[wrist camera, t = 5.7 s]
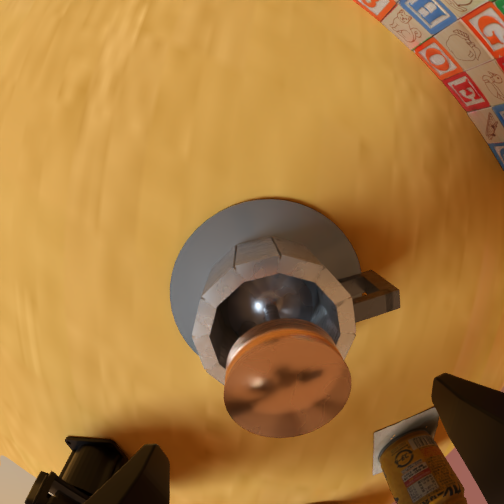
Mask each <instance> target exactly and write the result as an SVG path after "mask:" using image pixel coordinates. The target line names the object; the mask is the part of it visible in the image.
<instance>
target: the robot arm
mask: <svg viewBox="0 0 504 504" xmlns="http://www.w3.org/2000/svg"><path fill="white" fill-rule="evenodd" d="M431 397H432V402H433V404H434V406H435V408H436V410H437V412H438V414H439V417H440V419H441V421H442V423H443V425H444V427H445V430H446V432H447V434H448V436H449V438H450V439H451V441H452V443H453V444H454V446H455V448H456V449H457V451H458V452H459V454H460V456H461V457H462V459H463V461H464V462H465V464H466V466H467V467H468V469H469V471H470V472H471V474H472V476H473V478H474V479H475V481H476V483H477V485H478V486H479V488H480V490H481V492H482V494H483V495H484V497H485V499H486V501H487V503H488V504H504V393H503V392H500V391H497V390H494V389H491V388H488V387H485V386H482V385H479V384H476V383H473V382H471V381H468V380H465V379H462V378H459V377H456V376H453V375H451V374H448V373H443V374H441V375H439V376H437V377H435V378H434V381H433V388H432V395H431ZM65 442H66V443H67V445H68V446H69V447H70V448H71V450H72V453H71V454H70V456H69V458H68V460H67V462H66V464H65V466H64V468H63V470H62V472H61V473H60V475H59V477H58V476H57V474H55V473H54V472H52V471H51V472H50V473H49V474H48V473H45V472H43V471H41V472H40V474H39V475H38V477H37V479H36V481H35V483H34V484H33V486H32V488H31V491H30V492H29V495H28V496H27V498H26V500H25V504H169V500H170V463H169V460H168V458H167V456H166V455H165V453H164V452H163V451H162V449H161V448H160V446H159V445H157V444H145V445H144V446H143V447H142V448H141V449H140V450H139V451H138V452H137V453H136V454H135V455H134V456H133V457H132V458H131V459H130V460H128V458H127V457H126V456H125V455H124V453H123V452H122V451H121V450H120V448H119V447H118V446H117V444H116V443H115V442H114V441H112V440H105V439H86V438H73V437H66V439H65ZM48 492H50V493H52V494H53V495H54V496H52V495H50V494H49V493H48Z"/></svg>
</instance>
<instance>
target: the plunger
mask: <svg viewBox="0 0 504 504" xmlns="http://www.w3.org/2000/svg"><path fill="white" fill-rule="evenodd" d="M312 312H313V300H312V296H311V293H310V291H309V289H308V287H307V286H306V284H305V282H304V281H303V280H302V279H300V278H296V277H293V276H289V275H285V274H281V273H279V274H275V275H271V276H267V277H263V278H259V279H254V280H250V281H246V282H243V283H242V284H241V285H240V286H239V287H238V288H237V289H235V290H234V291H233V292H232V293H231V294H230V295H229V300H228V317H229V321H230V323H231V326H232V327H233V329H234V330H235V332H236V333H237V334H238V335H239V336H240V338H239V339H238V340H237V341H236V342H235V343H234V345H233V346H232V348H231V350H230V352H229V355H228V358H227V362H226V374H225V387H224V402H225V406H226V409H227V411H228V413H229V415H230V416H231V417H232V419H233V420H234V421H235V422H236V423H237V424H238V425H240V426H241V427H242V428H244V429H246V430H248V431H250V432H252V433H255V434H258V435H261V436H266V437H274V438H286V437H294V436H299V435H303V434H306V433H309V432H311V431H314V430H316V429H318V428H320V427H322V426H323V425H325V424H327V423H328V422H329V421H330V420H332V419H333V418H334V417H335V416H336V415H337V414H338V413H339V412H340V411H341V410H342V408H343V407H344V405H345V404H346V402H347V400H348V397H349V394H350V391H351V375H350V372H349V369H348V367H347V365H346V363H345V361H344V360H343V358H342V356H341V354H340V352H339V350H338V349H337V347H336V345H335V343H334V341H333V340H332V338H331V337H330V335H329V334H328V333H327V332H326V331H325V330H323V329H322V328H321V327H319V326H318V325H316V324H314V323H311V322H310V320H311V316H312Z"/></svg>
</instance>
